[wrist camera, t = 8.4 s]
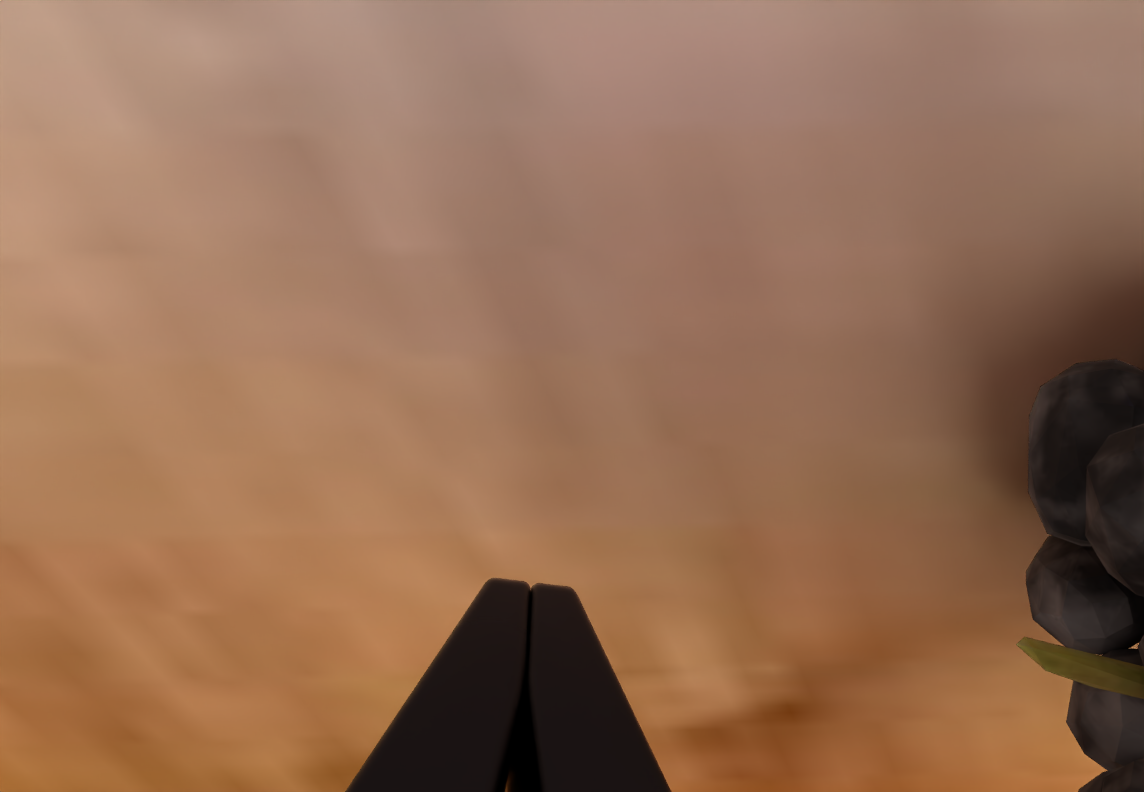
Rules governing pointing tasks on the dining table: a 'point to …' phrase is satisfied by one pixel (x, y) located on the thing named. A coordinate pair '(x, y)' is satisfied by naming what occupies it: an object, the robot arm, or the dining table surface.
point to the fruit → (1092, 558)
